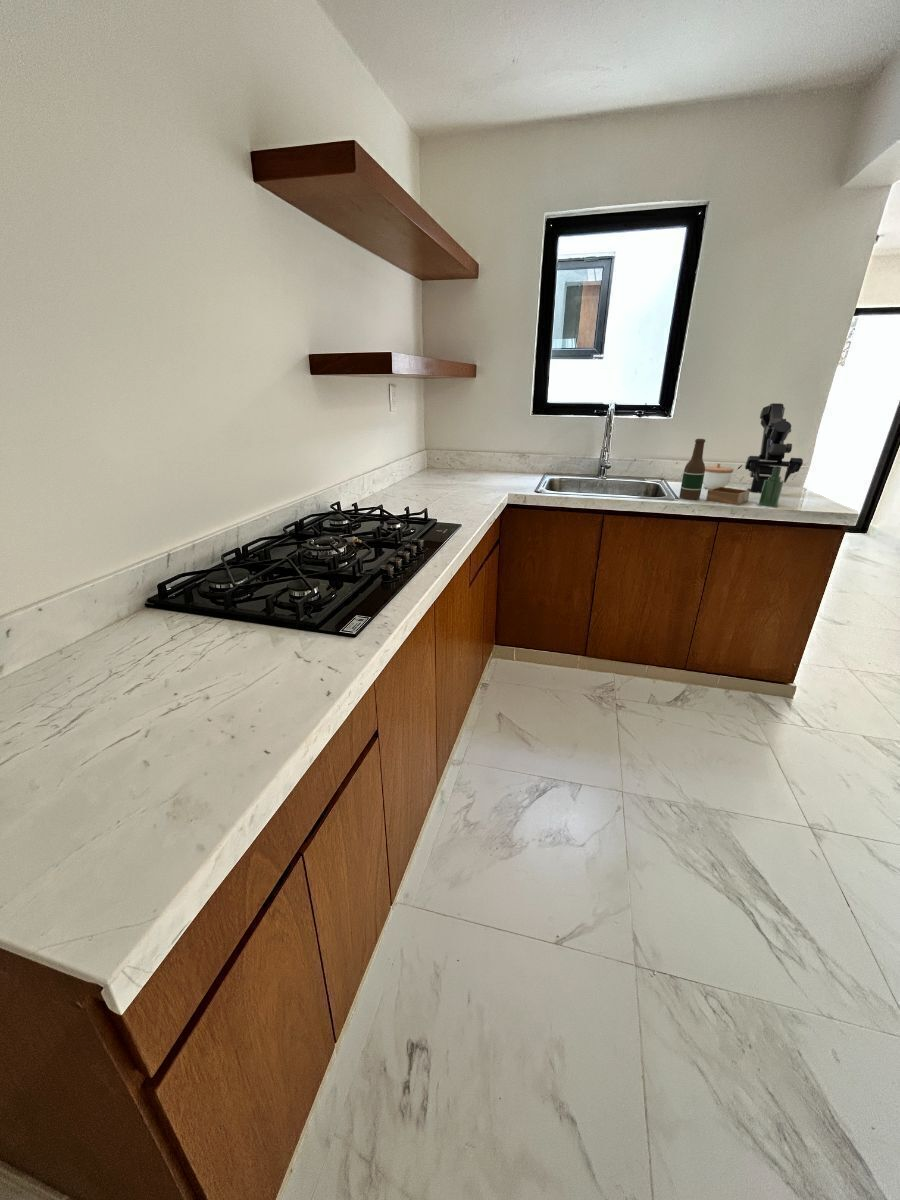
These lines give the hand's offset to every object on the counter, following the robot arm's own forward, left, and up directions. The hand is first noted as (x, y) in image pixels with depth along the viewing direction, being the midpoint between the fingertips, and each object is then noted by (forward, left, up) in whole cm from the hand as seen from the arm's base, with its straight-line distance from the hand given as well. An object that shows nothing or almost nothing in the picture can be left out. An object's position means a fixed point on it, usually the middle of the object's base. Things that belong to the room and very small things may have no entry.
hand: (771, 481), depth 197 cm
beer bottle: (-4, -28, -9) cm, 30 cm away
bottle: (+5, -1, -9) cm, 10 cm away
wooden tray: (-2, -14, -9) cm, 17 cm away
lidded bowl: (-33, -9, -9) cm, 35 cm away
